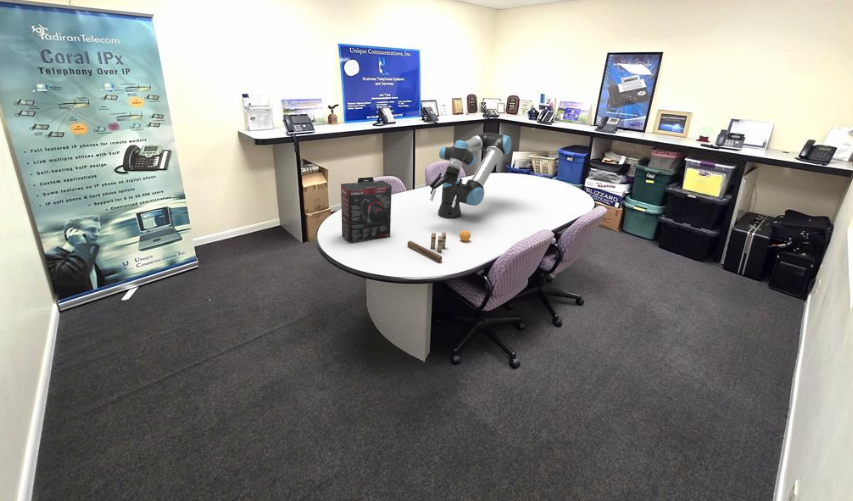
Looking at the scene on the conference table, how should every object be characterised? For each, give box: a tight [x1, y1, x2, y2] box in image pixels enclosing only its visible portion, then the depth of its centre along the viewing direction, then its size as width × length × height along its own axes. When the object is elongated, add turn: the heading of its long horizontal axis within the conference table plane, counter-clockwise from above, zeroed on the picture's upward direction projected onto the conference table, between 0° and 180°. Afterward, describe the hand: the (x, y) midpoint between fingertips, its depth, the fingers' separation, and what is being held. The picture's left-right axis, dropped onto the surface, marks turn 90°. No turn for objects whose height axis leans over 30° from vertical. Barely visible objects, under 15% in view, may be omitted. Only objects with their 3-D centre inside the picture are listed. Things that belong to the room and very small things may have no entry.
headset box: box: [340, 176, 393, 244], centre depth 222 cm, size 25×12×33 cm, turn 120°
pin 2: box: [436, 235, 443, 254], centre depth 213 cm, size 2×2×8 cm
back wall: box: [407, 240, 443, 264], centre depth 211 cm, size 2×24×3 cm, turn 42°
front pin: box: [440, 231, 447, 250], centre depth 218 cm, size 2×2×8 cm
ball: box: [459, 229, 472, 242], centre depth 229 cm, size 6×6×6 cm
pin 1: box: [430, 232, 437, 250], centre depth 216 cm, size 2×2×8 cm
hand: (441, 203), depth 233 cm, fingers open, 13 cm apart
